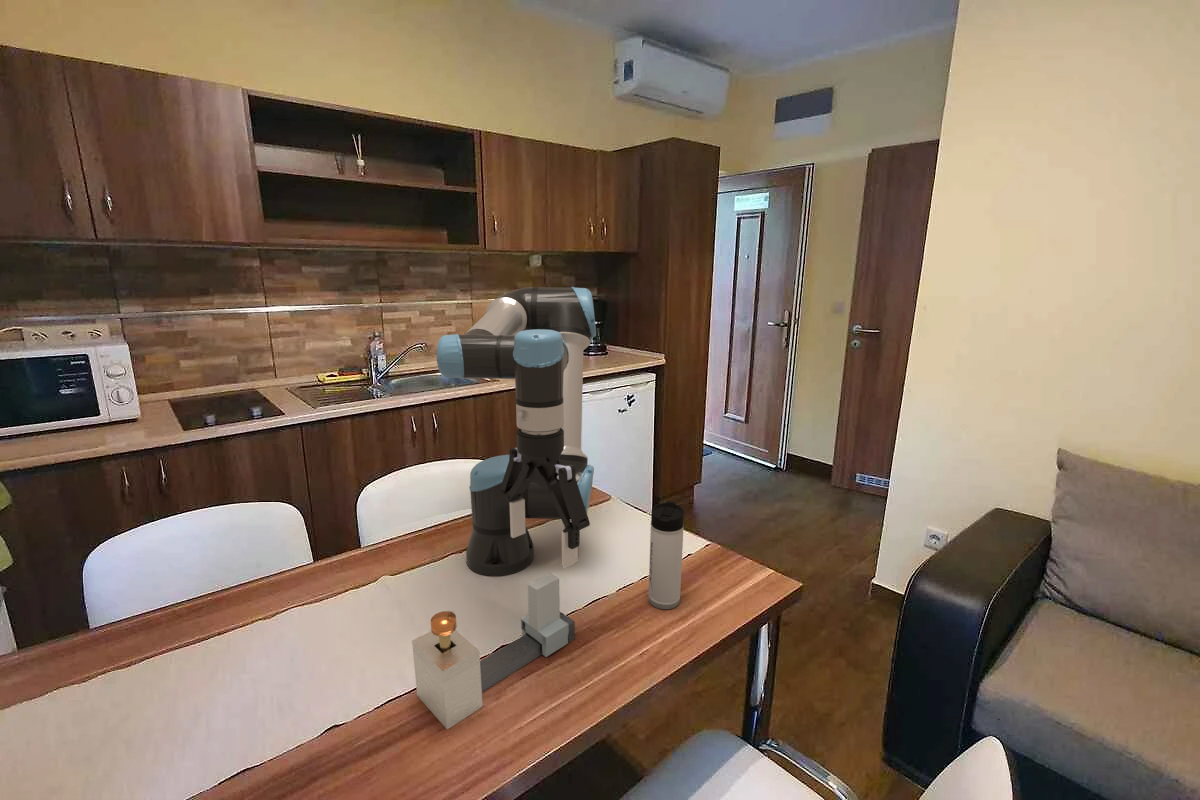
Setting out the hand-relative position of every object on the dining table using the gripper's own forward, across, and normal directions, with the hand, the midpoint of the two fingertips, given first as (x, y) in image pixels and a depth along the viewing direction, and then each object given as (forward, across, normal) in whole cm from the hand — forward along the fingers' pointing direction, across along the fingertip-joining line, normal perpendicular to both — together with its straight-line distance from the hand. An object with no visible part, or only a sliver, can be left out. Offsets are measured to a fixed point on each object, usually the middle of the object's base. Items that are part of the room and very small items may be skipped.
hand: (542, 549), depth 93 cm
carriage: (+19, 0, 0) cm, 19 cm away
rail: (+19, 0, -8) cm, 20 cm away
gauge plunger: (+13, 0, -19) cm, 23 cm away
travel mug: (+19, +7, +25) cm, 32 cm away
